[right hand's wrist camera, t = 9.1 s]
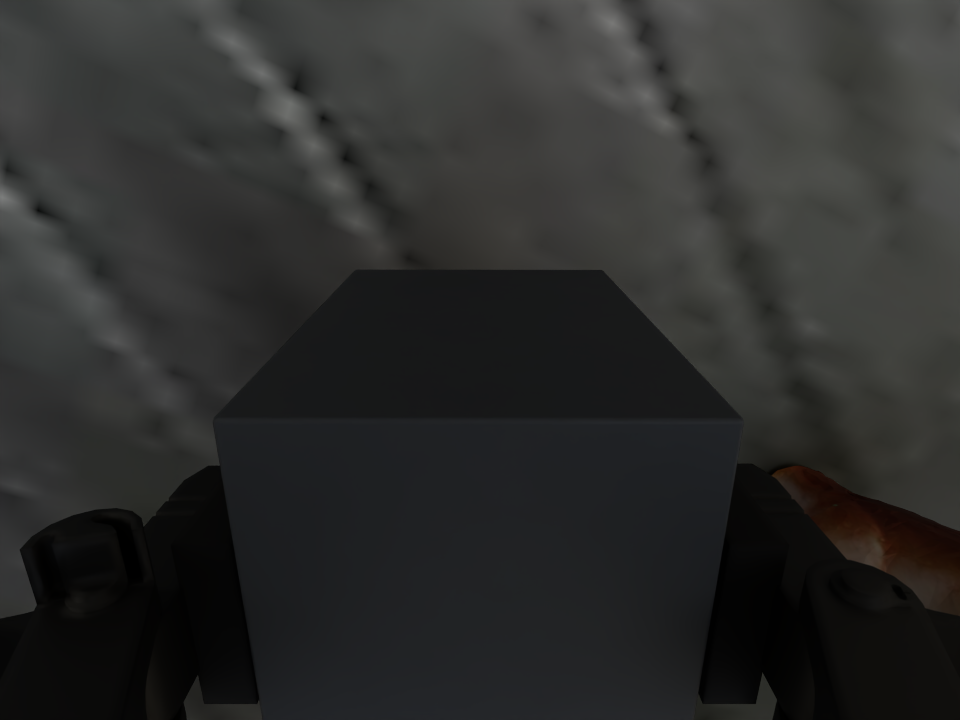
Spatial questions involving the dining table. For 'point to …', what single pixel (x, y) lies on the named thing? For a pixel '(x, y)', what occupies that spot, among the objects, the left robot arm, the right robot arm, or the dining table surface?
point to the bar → (478, 504)
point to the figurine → (882, 536)
